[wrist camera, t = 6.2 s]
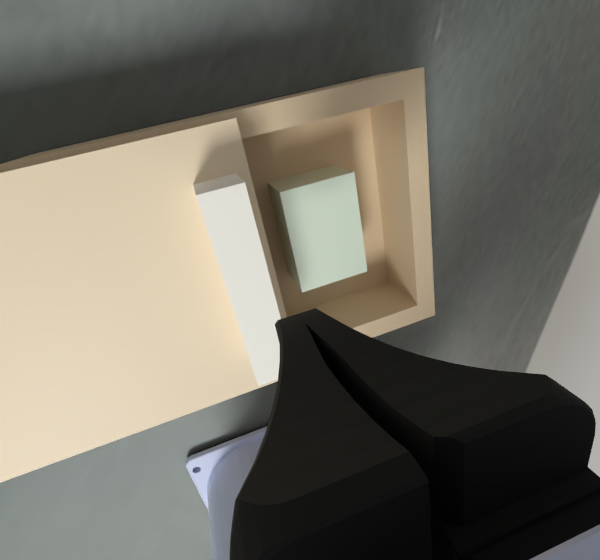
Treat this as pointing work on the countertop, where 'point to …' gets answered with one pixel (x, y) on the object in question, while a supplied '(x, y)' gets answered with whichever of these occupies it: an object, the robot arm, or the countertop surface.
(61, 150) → the tray
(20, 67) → the countertop surface
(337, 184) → the soap bar
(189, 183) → the mailer lid
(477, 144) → the countertop surface
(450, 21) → the countertop surface
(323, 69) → the countertop surface
